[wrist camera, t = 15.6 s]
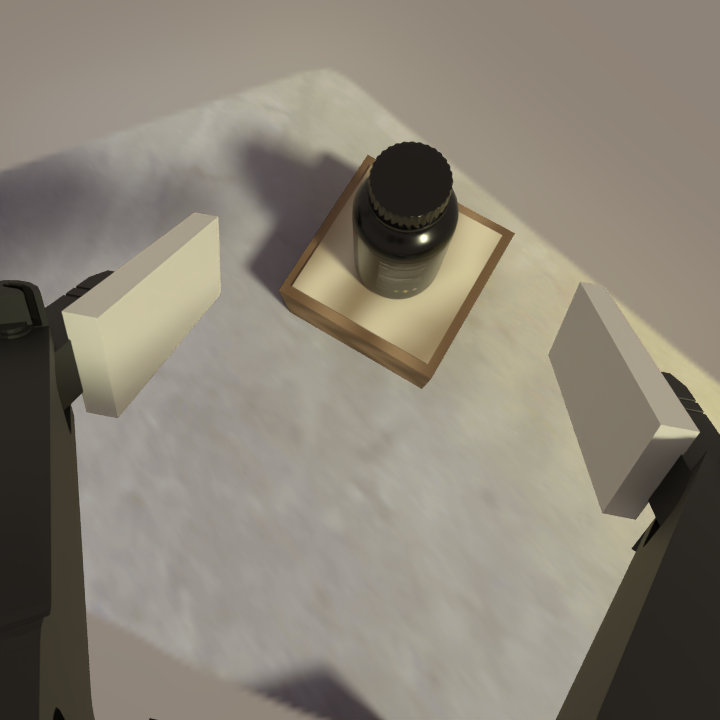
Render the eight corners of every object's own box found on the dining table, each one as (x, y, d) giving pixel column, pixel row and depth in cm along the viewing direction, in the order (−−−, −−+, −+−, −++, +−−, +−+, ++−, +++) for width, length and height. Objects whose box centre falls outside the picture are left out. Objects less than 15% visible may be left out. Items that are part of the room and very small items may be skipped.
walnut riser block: (289, 311, 45) (278, 289, 39) (367, 192, 47) (367, 153, 41) (421, 388, 43) (431, 378, 37) (495, 261, 46) (515, 232, 40)
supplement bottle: (456, 258, 39) (496, 174, 27) (400, 319, 38) (417, 259, 26) (392, 205, 40) (405, 102, 28) (336, 264, 39) (325, 182, 27)
